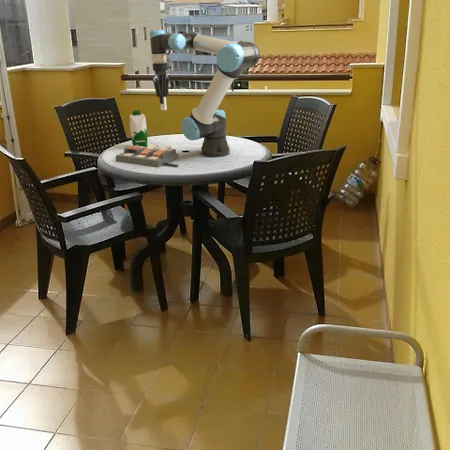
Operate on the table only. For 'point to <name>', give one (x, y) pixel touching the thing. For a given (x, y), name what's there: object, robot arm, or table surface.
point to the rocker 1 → (135, 147)
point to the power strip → (148, 157)
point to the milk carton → (138, 129)
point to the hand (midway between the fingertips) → (163, 109)
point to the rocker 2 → (161, 151)
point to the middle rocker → (149, 149)
